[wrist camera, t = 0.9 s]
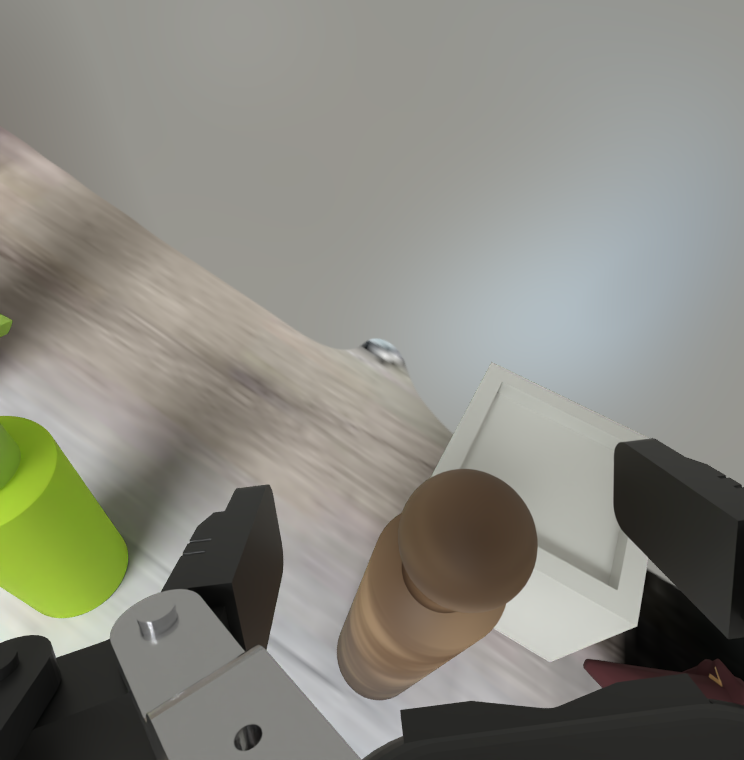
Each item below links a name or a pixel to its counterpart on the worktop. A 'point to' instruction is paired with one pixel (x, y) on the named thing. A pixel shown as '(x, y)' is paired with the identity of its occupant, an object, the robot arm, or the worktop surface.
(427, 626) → the pepper mill
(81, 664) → the robot arm
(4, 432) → the soap dispenser
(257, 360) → the worktop surface
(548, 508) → the plinth
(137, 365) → the worktop surface
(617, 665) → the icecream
